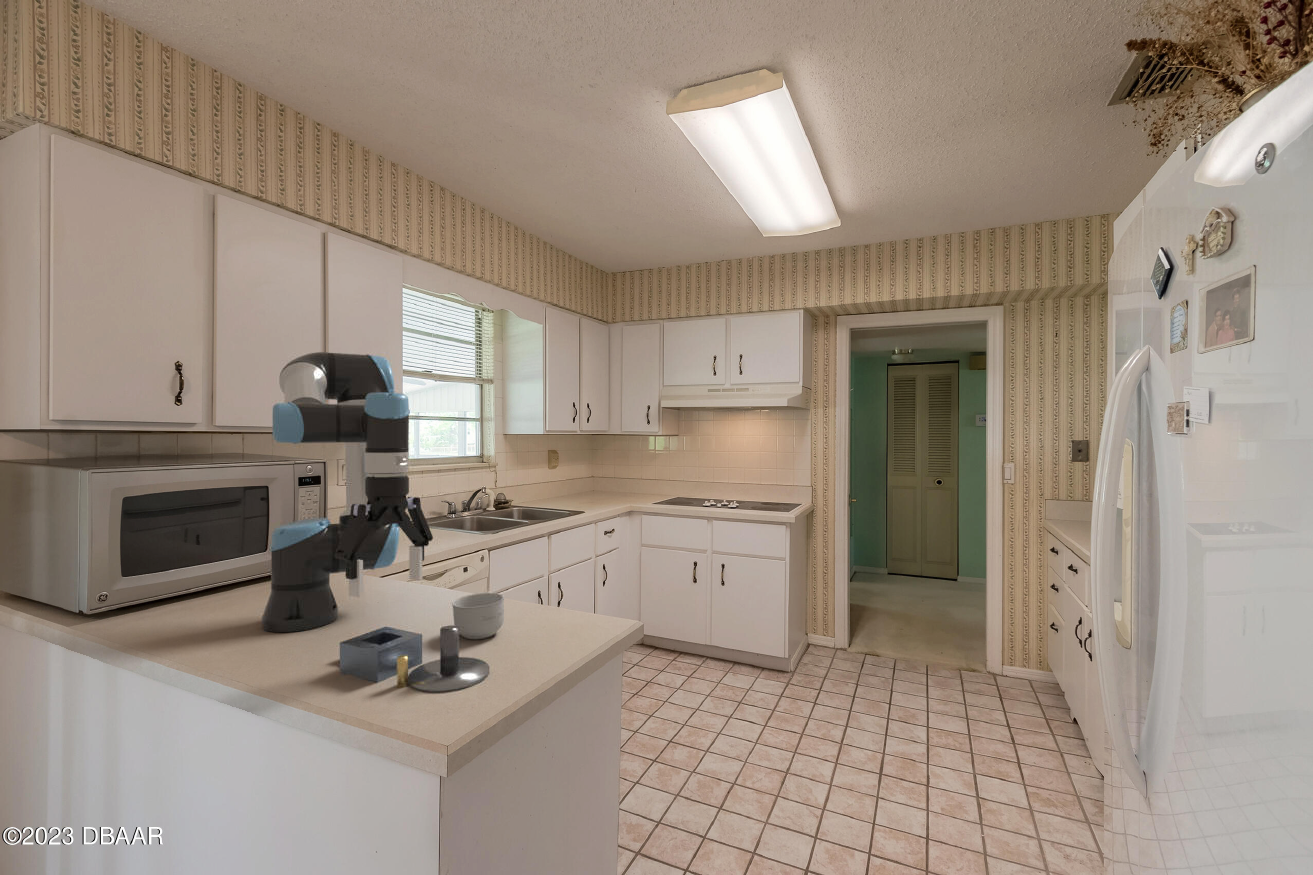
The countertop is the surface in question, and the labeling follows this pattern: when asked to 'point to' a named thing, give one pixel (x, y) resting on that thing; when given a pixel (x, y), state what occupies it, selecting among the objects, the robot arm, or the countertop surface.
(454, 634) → the rod on disc base
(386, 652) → the grey hollow block
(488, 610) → the teacup
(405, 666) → the dowel pin
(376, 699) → the countertop surface
